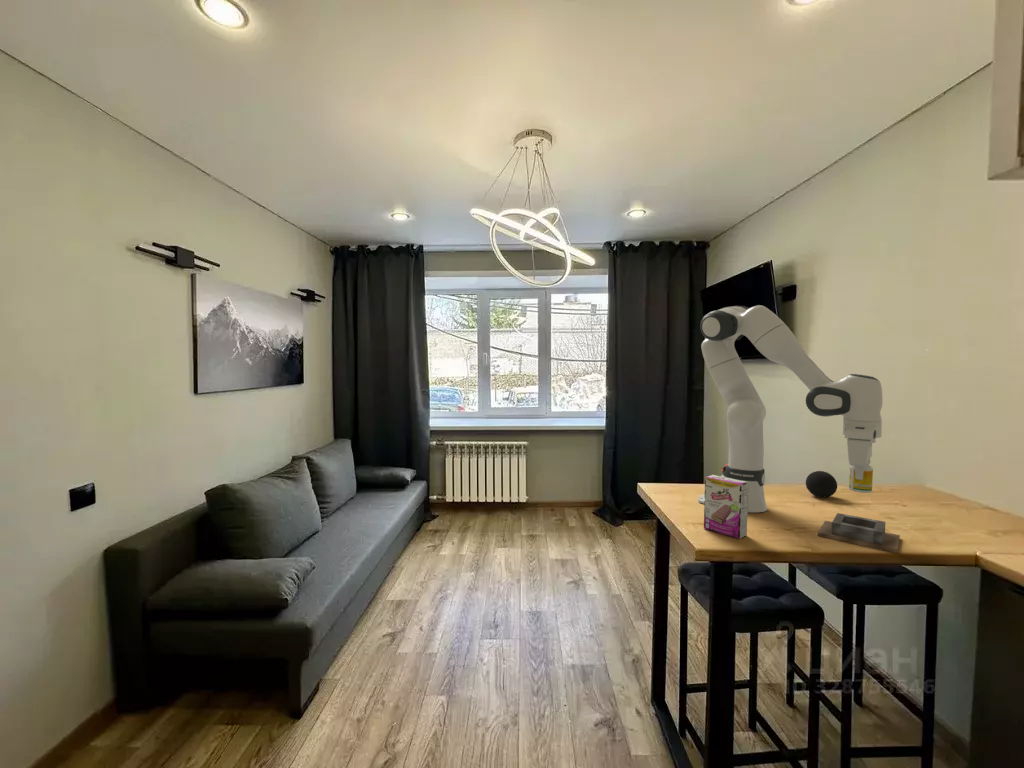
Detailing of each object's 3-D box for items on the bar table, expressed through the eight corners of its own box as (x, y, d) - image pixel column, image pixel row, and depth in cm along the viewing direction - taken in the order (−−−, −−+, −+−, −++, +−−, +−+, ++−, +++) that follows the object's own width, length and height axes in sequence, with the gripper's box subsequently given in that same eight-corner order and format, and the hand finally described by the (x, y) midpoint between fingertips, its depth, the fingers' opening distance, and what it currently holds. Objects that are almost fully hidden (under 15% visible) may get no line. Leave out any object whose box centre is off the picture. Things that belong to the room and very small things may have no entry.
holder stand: (817, 535, 132) (817, 520, 132) (825, 523, 143) (825, 509, 142) (897, 553, 120) (898, 536, 120) (899, 538, 130) (900, 523, 130)
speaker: (843, 501, 166) (844, 474, 166) (815, 500, 167) (816, 474, 166) (825, 493, 176) (826, 468, 176) (799, 493, 177) (800, 468, 176)
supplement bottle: (844, 488, 133) (845, 456, 133) (861, 488, 134) (862, 456, 133) (859, 493, 128) (860, 460, 128) (877, 493, 128) (878, 460, 128)
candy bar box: (702, 529, 138) (703, 476, 137) (710, 525, 141) (712, 474, 140) (740, 540, 129) (741, 484, 128) (747, 536, 132) (749, 481, 131)
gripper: (852, 425, 140) (851, 469, 140) (843, 432, 125) (842, 481, 125) (878, 427, 136) (877, 472, 136) (872, 434, 121) (871, 485, 121)
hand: (860, 476), depth 131 cm, fingers closed on supplement bottle, 5 cm apart
